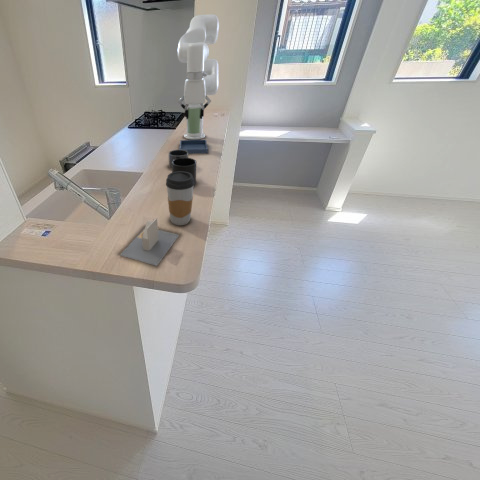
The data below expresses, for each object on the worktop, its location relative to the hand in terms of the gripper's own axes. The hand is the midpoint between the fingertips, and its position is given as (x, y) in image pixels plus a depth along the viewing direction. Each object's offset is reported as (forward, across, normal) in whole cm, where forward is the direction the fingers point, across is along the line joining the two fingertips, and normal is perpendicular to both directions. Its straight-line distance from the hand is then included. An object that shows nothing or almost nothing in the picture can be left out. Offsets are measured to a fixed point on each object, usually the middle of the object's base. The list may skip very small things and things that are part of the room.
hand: (194, 118), depth 133 cm
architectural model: (+16, +13, +84) cm, 86 cm away
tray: (+15, 0, 0) cm, 15 cm away
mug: (+16, +4, +42) cm, 45 cm away
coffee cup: (+16, +5, +71) cm, 73 cm away
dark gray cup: (+16, +7, +25) cm, 30 cm away
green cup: (+7, 0, 0) cm, 7 cm away
